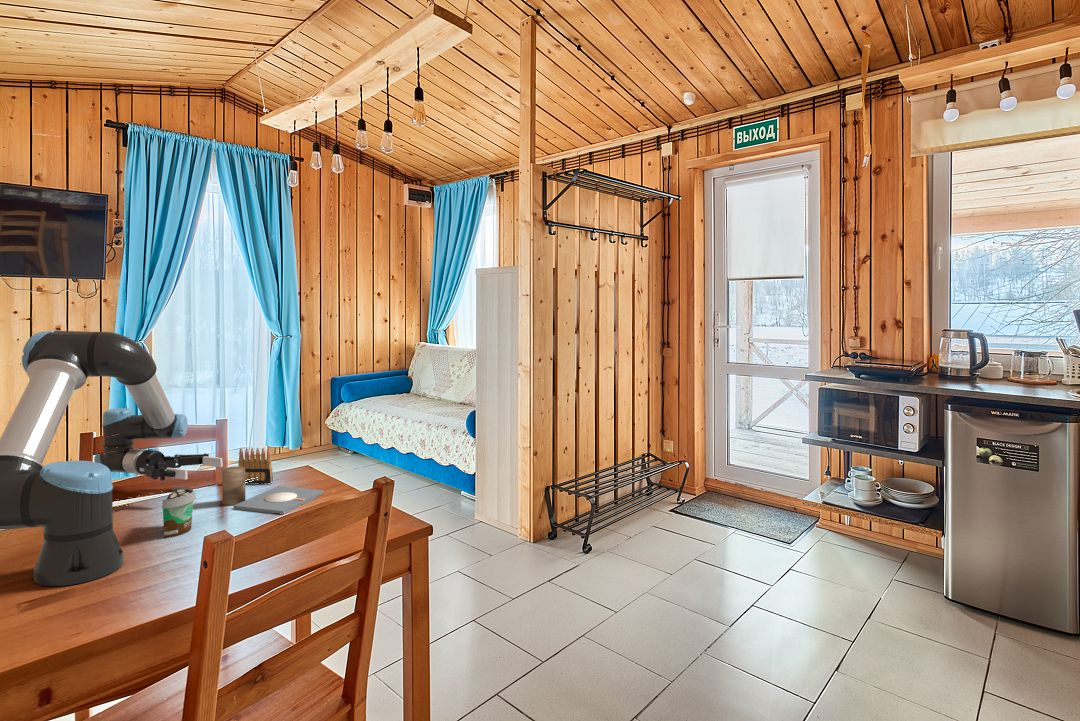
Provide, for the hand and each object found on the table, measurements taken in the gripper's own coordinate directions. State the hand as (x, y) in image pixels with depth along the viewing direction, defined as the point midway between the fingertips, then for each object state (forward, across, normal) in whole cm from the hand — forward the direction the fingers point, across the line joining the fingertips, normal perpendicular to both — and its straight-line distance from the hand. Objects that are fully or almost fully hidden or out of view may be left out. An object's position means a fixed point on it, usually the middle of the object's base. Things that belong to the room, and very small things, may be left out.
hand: (204, 468), depth 172 cm
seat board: (+22, -4, -9) cm, 25 cm away
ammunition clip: (+3, -18, -10) cm, 20 cm away
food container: (+13, +22, -9) cm, 28 cm away
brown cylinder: (+10, +1, -9) cm, 14 cm away
